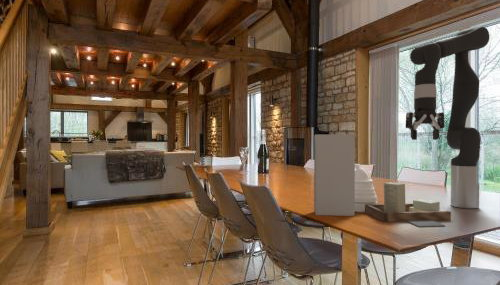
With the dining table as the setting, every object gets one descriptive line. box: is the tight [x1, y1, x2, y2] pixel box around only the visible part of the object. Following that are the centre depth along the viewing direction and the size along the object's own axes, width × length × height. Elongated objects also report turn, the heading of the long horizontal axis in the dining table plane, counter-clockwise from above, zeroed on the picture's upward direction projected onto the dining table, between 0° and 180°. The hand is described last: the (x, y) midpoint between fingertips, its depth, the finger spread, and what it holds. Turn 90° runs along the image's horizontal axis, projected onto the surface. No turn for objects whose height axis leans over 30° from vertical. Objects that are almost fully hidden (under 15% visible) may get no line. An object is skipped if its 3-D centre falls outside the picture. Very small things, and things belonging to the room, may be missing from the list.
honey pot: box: [355, 163, 378, 213], centre depth 133 cm, size 13×13×18 cm
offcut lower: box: [409, 207, 440, 212], centre depth 120 cm, size 7×9×3 cm
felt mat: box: [405, 220, 446, 228], centre depth 108 cm, size 9×7×1 cm
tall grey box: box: [313, 134, 356, 217], centre depth 123 cm, size 14×6×30 cm, turn 84°
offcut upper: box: [412, 198, 441, 211], centre depth 120 cm, size 5×7×3 cm
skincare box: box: [383, 181, 406, 212], centre depth 120 cm, size 6×4×12 cm
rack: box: [364, 203, 452, 223], centre depth 120 cm, size 24×15×3 cm, turn 95°
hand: (424, 139), depth 125 cm, fingers open, 8 cm apart
